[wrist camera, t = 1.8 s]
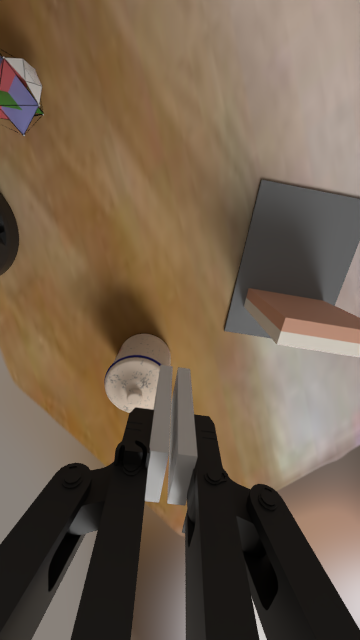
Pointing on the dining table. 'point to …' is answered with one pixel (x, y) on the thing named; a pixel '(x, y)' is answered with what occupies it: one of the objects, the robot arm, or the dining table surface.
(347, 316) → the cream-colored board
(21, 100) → the geometric puzzle
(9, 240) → the robot arm
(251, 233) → the mat
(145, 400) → the teacup with lid
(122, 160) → the dining table surface
